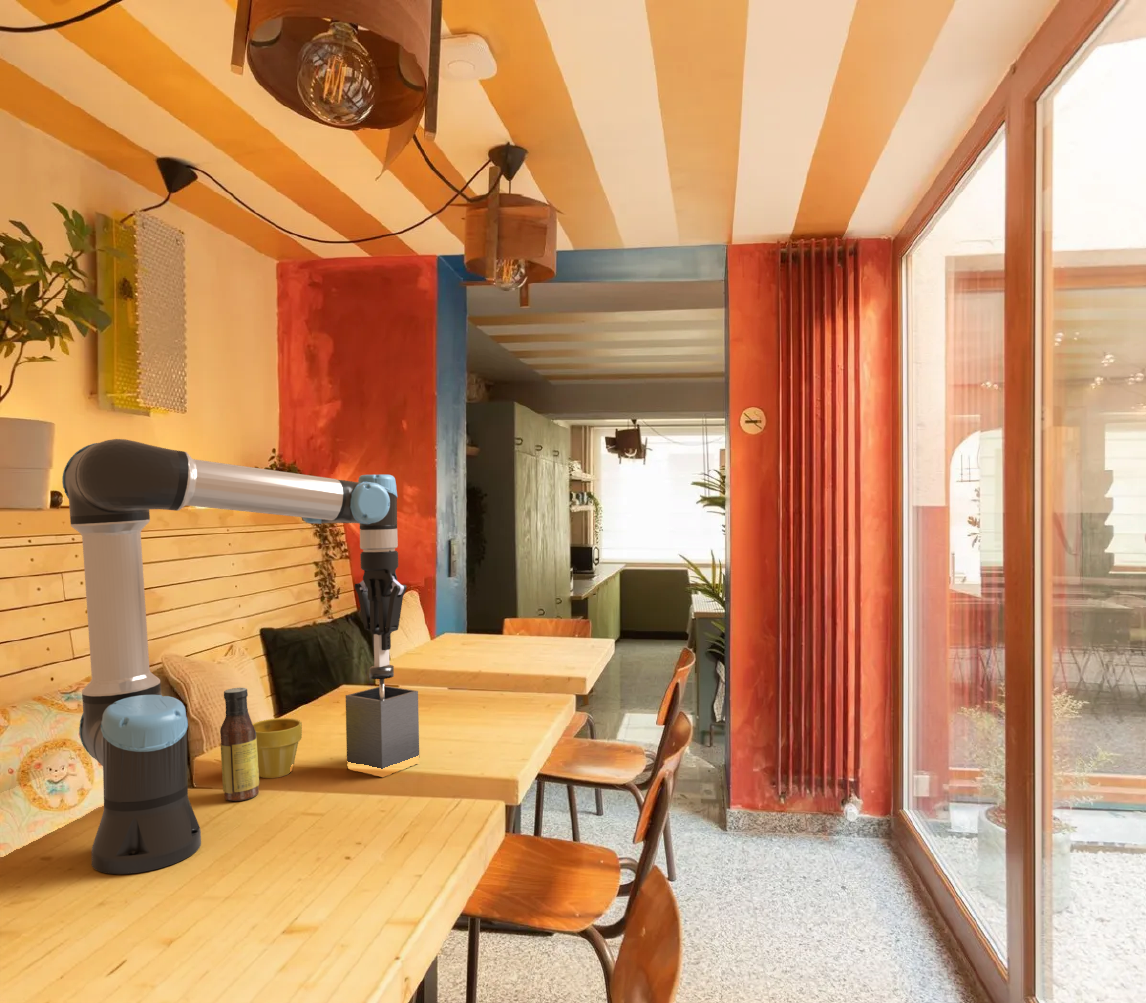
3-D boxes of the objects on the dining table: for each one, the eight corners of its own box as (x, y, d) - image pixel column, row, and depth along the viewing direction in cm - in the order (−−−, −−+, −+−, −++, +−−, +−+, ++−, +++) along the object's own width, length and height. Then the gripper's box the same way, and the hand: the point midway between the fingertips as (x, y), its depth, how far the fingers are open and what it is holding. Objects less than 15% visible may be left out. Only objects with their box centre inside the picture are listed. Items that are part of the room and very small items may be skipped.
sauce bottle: (265, 791, 157) (263, 685, 157) (249, 803, 151) (247, 693, 151) (232, 790, 157) (230, 685, 157) (214, 802, 151) (212, 693, 151)
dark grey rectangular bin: (382, 778, 163) (380, 701, 163) (347, 769, 169) (345, 695, 169) (431, 759, 174) (430, 687, 174) (397, 751, 180) (395, 682, 180)
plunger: (381, 739, 164) (380, 672, 164) (353, 734, 169) (352, 668, 169) (411, 730, 171) (410, 665, 171) (383, 724, 176) (382, 661, 176)
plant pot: (291, 781, 162) (290, 731, 162) (239, 782, 162) (238, 732, 162) (309, 764, 172) (308, 717, 172) (260, 765, 173) (259, 718, 173)
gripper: (415, 549, 169) (418, 665, 170) (371, 548, 177) (373, 659, 177) (388, 551, 163) (391, 672, 163) (343, 550, 171) (346, 666, 171)
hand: (382, 665), depth 170 cm, fingers closed
